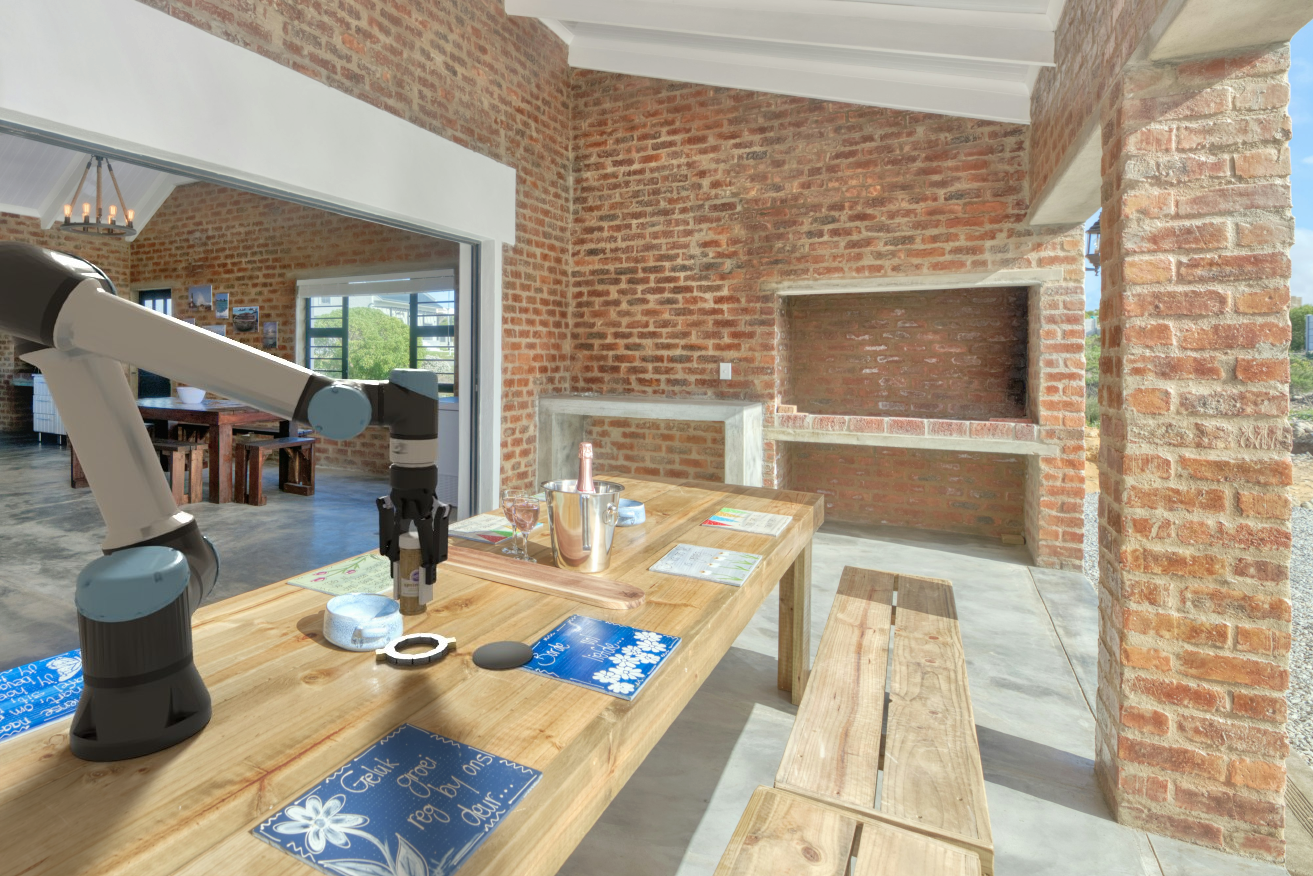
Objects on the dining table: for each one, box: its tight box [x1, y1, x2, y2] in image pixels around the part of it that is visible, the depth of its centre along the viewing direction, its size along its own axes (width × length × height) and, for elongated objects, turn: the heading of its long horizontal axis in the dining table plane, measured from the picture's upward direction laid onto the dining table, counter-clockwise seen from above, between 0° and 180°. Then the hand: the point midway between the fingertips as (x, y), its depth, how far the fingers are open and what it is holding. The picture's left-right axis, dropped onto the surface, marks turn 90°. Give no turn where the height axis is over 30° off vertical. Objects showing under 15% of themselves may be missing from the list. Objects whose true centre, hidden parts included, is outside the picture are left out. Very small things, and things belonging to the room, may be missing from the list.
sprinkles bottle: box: [398, 531, 428, 617], centre depth 114 cm, size 5×5×14 cm
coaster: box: [472, 640, 534, 670], centre depth 116 cm, size 10×10×1 cm
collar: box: [375, 632, 457, 667], centre depth 116 cm, size 13×10×1 cm
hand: (413, 599), depth 115 cm, fingers closed on sprinkles bottle, 4 cm apart
